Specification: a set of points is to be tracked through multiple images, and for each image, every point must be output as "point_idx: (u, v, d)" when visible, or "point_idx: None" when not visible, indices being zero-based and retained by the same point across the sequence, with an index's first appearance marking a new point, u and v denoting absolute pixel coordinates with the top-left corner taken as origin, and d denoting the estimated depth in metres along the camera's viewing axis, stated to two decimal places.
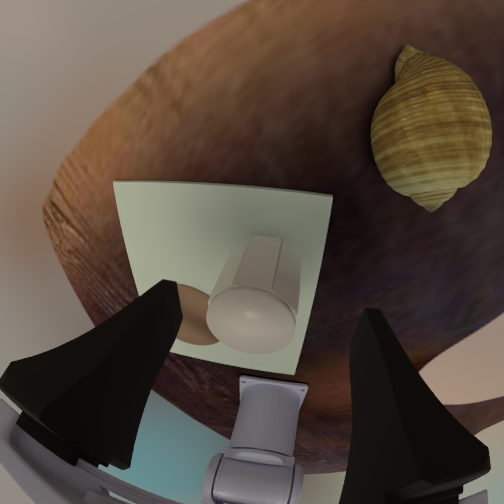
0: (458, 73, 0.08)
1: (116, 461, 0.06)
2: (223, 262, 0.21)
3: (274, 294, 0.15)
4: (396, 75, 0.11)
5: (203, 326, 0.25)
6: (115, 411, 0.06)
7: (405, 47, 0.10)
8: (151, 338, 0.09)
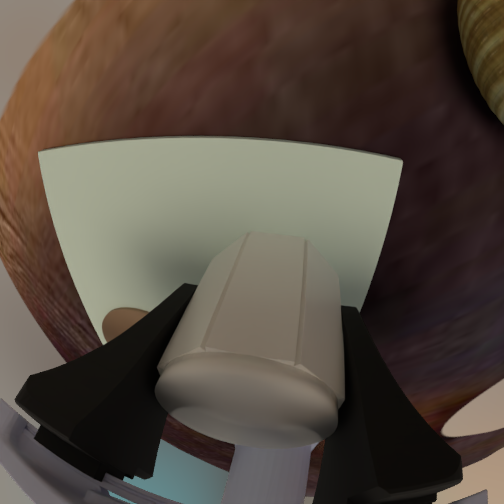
0: None
1: (140, 471, 0.06)
2: (200, 279, 0.12)
3: (300, 370, 0.06)
4: None
5: None
6: (141, 422, 0.06)
7: None
8: None
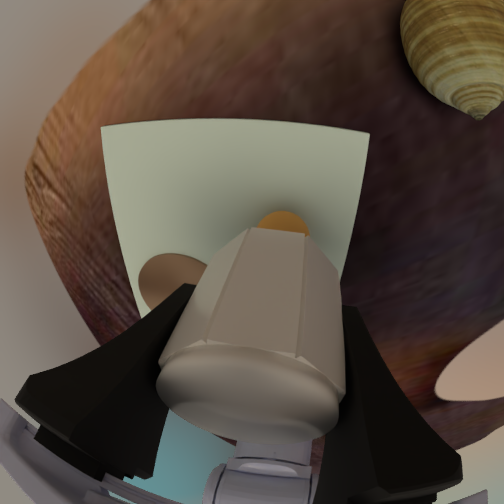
0: None
1: (140, 471, 0.06)
2: (231, 221, 0.17)
3: (301, 363, 0.06)
4: None
5: None
6: (141, 422, 0.06)
7: None
8: None
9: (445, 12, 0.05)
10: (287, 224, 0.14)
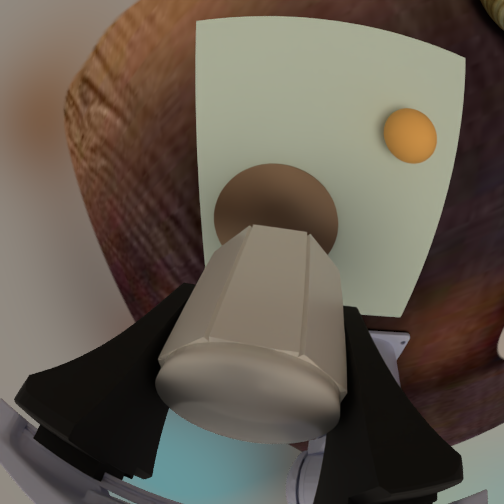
0: None
1: (139, 471, 0.06)
2: (349, 123, 0.13)
3: (304, 362, 0.06)
4: None
5: None
6: (141, 421, 0.06)
7: None
8: None
9: None
10: (422, 115, 0.10)
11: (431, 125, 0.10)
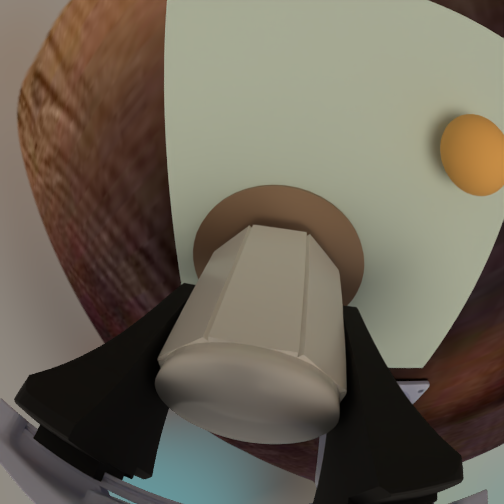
0: None
1: (139, 471, 0.06)
2: (390, 128, 0.09)
3: (303, 362, 0.06)
4: None
5: None
6: (141, 421, 0.06)
7: None
8: None
9: None
10: (497, 127, 0.06)
11: None
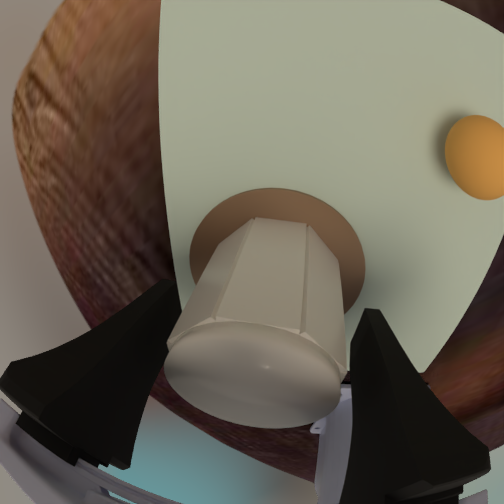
0: None
1: (116, 460, 0.06)
2: (393, 129, 0.08)
3: (305, 340, 0.06)
4: None
5: None
6: (115, 411, 0.06)
7: None
8: (151, 338, 0.09)
9: None
10: (503, 129, 0.05)
11: None
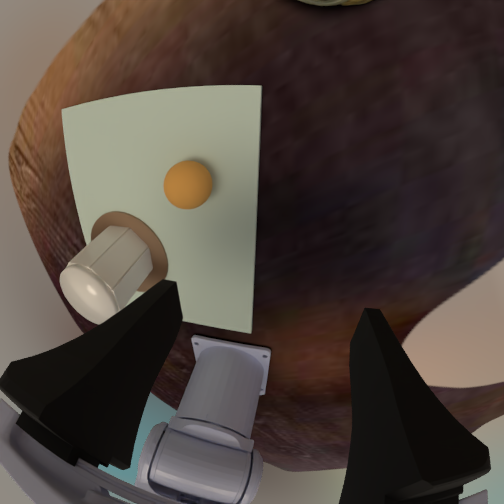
0: None
1: (116, 460, 0.06)
2: (154, 177, 0.18)
3: (92, 271, 0.16)
4: None
5: None
6: (115, 411, 0.06)
7: None
8: (151, 338, 0.09)
9: None
10: (185, 168, 0.15)
11: (191, 176, 0.15)
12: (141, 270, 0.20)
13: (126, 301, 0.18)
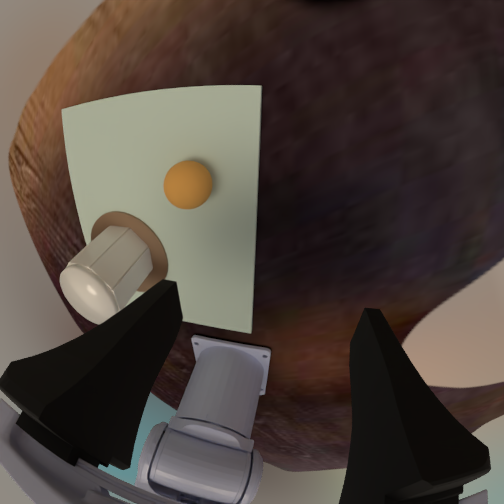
0: None
1: (116, 461, 0.06)
2: (154, 177, 0.18)
3: (92, 271, 0.16)
4: None
5: None
6: (115, 411, 0.06)
7: None
8: (151, 338, 0.09)
9: None
10: (185, 168, 0.15)
11: (191, 176, 0.15)
12: (141, 270, 0.20)
13: (126, 301, 0.18)
